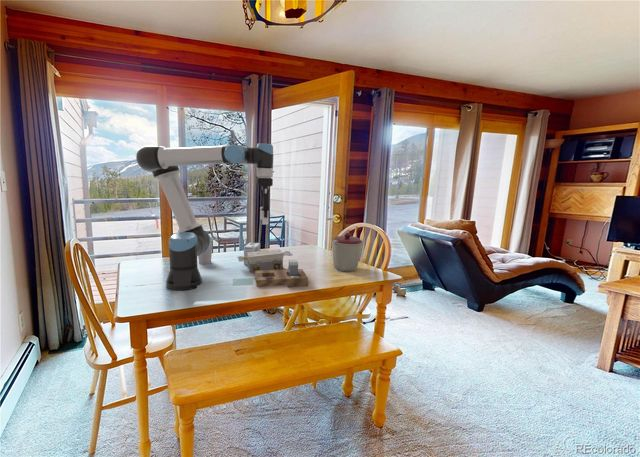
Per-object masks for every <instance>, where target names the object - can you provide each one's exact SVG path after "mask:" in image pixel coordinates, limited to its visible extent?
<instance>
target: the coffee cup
mask: <svg viewBox="0 0 640 457" xmlns="http://www.w3.org/2000/svg"><path fill="white" fill-rule="evenodd" d="M209 236H210V239H211V242H210V246H209V247H208V249H207V250H206V251H205V252H204V253H201V254H200V255H198V256H197V260H198V264H200V265H208V264H211V263H212V253H213V252H212V251H213V241H214V240H215V239H214V237H213V236H212V235H211V234H209Z"/></svg>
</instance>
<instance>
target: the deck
mask: <svg viewBox="0 0 640 457" xmlns="http://www.w3.org/2000/svg"><path fill="white" fill-rule="evenodd" d="M253 285H254V282H253V278H252V277H248V278H247V277H246V278H245V277H244V278H233V279H232V287H233V286H253Z"/></svg>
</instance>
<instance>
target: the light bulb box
mask: <svg viewBox="0 0 640 457" xmlns="http://www.w3.org/2000/svg"><path fill="white" fill-rule="evenodd" d="M258 251H261V243H260V242H249V243H247V244H246V245H244V246H243V257H245V256H247V253H248V252H258ZM243 265H244V266H248V262H247V260H245V261H243Z"/></svg>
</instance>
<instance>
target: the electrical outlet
mask: <svg viewBox="0 0 640 457" xmlns="http://www.w3.org/2000/svg"><path fill="white" fill-rule="evenodd" d="M284 256H289V257H291V256H294V254H293V253H291V250H290V251H289V250H285V251H282V250H281V249H279V248H277V249H270V250H269V249H268V250H260V251H258V252H248V253H247V256H245V257H244V255H242V256H237V257H236V258H237V259H238V262H244V261H245V260H247V262H248V265H247V269H248V271H249V272H251V273H255V271H258V270H284Z"/></svg>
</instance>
